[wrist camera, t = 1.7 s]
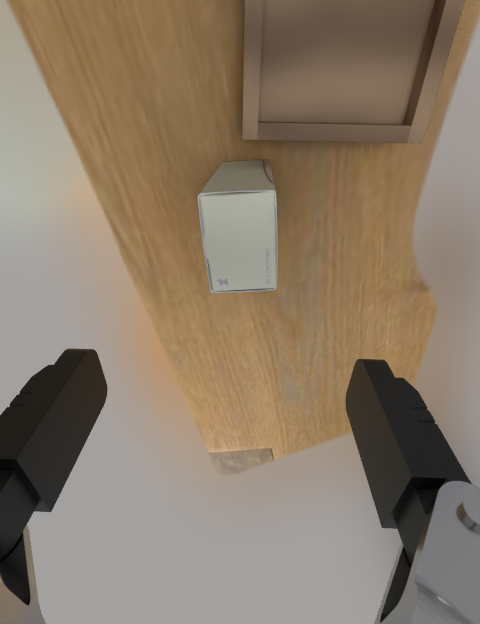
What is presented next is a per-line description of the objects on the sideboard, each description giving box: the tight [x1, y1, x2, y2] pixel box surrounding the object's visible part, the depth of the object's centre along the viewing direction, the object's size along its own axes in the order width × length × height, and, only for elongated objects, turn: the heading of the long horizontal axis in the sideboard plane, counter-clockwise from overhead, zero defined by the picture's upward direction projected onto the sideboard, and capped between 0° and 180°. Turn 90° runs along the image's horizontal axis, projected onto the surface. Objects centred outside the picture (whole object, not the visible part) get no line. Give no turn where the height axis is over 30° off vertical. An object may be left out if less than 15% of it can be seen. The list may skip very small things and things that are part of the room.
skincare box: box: [197, 160, 278, 293], centre depth 23 cm, size 6×4×12 cm
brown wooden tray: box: [242, 0, 465, 143], centre depth 20 cm, size 12×12×6 cm
